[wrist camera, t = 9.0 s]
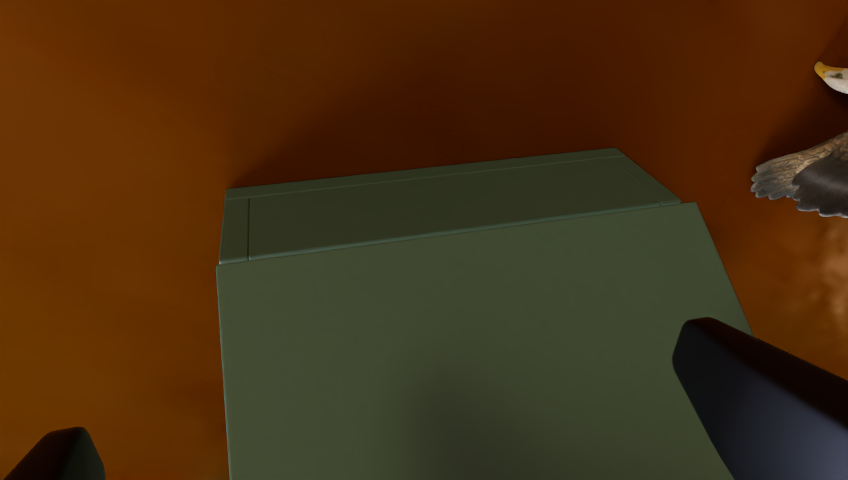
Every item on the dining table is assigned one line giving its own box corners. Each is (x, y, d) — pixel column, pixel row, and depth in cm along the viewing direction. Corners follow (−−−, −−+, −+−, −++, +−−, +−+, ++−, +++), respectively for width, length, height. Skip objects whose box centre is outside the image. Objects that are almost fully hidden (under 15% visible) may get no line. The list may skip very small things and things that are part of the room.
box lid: (871, 657, 14) (1116, 730, 10) (260, 864, 11) (207, 1106, 7) (684, 210, 19) (790, 121, 14) (220, 272, 16) (173, 185, 11)
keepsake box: (572, 361, 29) (616, 429, 25) (273, 416, 26) (276, 503, 22) (615, 146, 22) (683, 199, 19) (225, 188, 19) (218, 260, 16)
